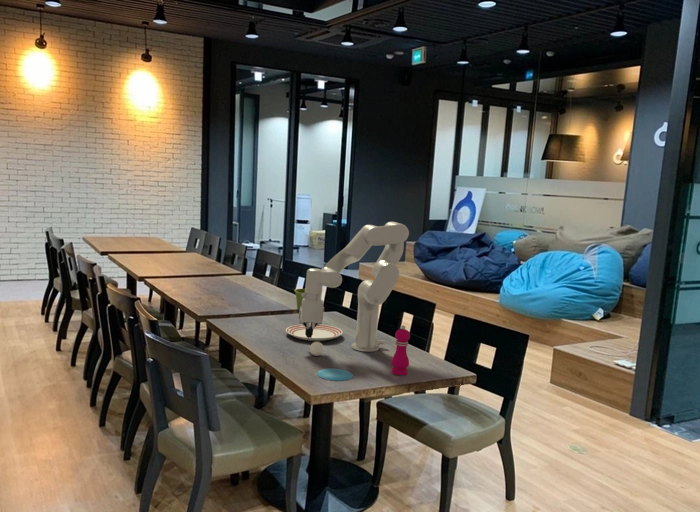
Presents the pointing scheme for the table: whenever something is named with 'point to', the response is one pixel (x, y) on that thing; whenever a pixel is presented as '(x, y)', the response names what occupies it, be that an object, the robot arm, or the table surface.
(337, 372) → the disc
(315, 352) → the ball
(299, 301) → the plant pot
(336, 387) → the table surface
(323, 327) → the dinner plate
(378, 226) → the robot arm
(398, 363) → the pepper mill
